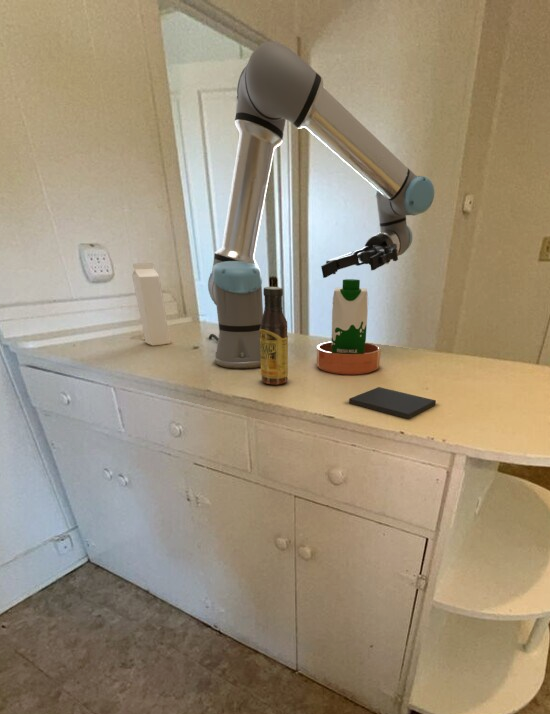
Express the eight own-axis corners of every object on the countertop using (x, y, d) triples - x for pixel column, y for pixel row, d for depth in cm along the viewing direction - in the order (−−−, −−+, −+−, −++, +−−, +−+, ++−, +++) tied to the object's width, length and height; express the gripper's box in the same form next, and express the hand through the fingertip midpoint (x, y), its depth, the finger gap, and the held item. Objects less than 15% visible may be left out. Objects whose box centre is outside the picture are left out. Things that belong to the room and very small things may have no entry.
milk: (145, 342, 136) (129, 263, 124) (163, 340, 139) (149, 262, 127) (152, 346, 132) (136, 263, 120) (171, 343, 135) (157, 263, 123)
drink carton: (329, 369, 109) (332, 280, 98) (332, 360, 116) (334, 277, 106) (364, 370, 108) (370, 281, 97) (364, 361, 116) (369, 278, 105)
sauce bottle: (256, 382, 100) (249, 287, 89) (275, 377, 104) (271, 285, 93) (274, 388, 96) (270, 289, 85) (294, 382, 100) (292, 287, 89)
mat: (348, 403, 88) (349, 398, 87) (378, 391, 95) (378, 386, 94) (408, 419, 80) (408, 414, 80) (435, 405, 87) (436, 400, 87)
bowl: (304, 367, 112) (303, 347, 109) (342, 356, 122) (342, 338, 120) (354, 379, 103) (355, 357, 100) (390, 366, 114) (392, 346, 111)
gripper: (425, 257, 114) (395, 278, 100) (344, 270, 127) (308, 290, 113) (423, 224, 109) (392, 241, 96) (339, 241, 122) (301, 258, 109)
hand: (346, 268), depth 105 cm, fingers open, 13 cm apart
